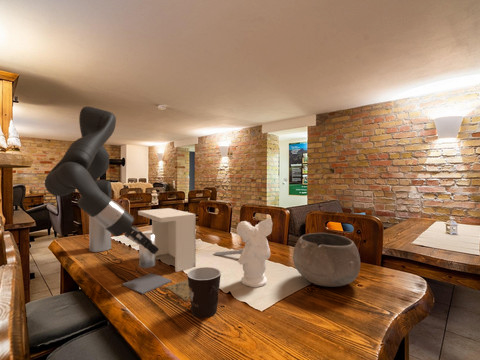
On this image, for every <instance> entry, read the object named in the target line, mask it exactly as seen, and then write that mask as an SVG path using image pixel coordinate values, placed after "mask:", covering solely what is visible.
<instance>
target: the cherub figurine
mask: <svg viewBox="0 0 480 360" xmlns="http://www.w3.org/2000/svg"><path fill="white" fill-rule="evenodd" d="M273 226H274V225H273V220H272V219H271V217H270V216H269V217H267V218H266V219H264V220H261V221H259V222H258V224H257V223H256V224H255V226H253V225H252V224H251V222H249V221H247V220H244V221H243V220H242V221H240V222H238V224H237V226H236V234H237V235H238V236H239V237H240V238H241V240H242V242H243V243H245V245H244V247H243V248H242V249H243V251H242V253H241V255H240V256H239V258H238V260H237V263H239V265H242V270H243V276H242V277H241V280H240V281H241V283H242V284H243V285H244V286H245V287H246V286H247V287H250V288H260V287H262V286H265V285H266V284H267V282H268V278H267V277H266V275H265V271H266V270H267V269H266V268H267V263H266V261H267V260H268V259H270V257H271V250H270V245H269V241H268V239H267V237H268V236H269V235H271V234H272V231H273Z"/></svg>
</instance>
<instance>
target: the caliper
mask: <svg viewBox="0 0 480 360" xmlns="http://www.w3.org/2000/svg"><path fill="white" fill-rule="evenodd" d="M243 249H244V248H240V249H237V250H235V249H233V250H224V251H223V250H222V251H215V252H214V253H212V255H214V256H229V255H230V256H231V255H240V256H241V253H242V251H243Z"/></svg>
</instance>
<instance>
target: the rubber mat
mask: <svg viewBox="0 0 480 360" xmlns="http://www.w3.org/2000/svg"><path fill="white" fill-rule="evenodd" d="M172 281H173V280H172V279H170V278H167V277H164V276H162V275H158V274H155V273H153V272H150V273H148V274H145V275H143V276H140V277H137V278H134V279H132V280H129V281H126V282H123V283H122V284H121V285H122V286H123V287H126V288H128V289H130V290H132V291H134V292H136V293H139V294H141V295H144V294H146V293H149V292H150V291H153V290H155V289H158V288H160V287H162V286H165V285H167V284H169V283H171V282H172Z"/></svg>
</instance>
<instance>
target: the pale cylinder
mask: <svg viewBox="0 0 480 360" xmlns="http://www.w3.org/2000/svg"><path fill="white" fill-rule="evenodd" d="M143 234H145V235H146V237H147V238H148V239H149V240H151V241H152V244H154V245H155V233H152V232H146V233H144V232H143ZM146 242H147V240H146V241H145V242H144V244H145V243H146ZM138 253H139V254H138V256H139V257H138V258H139V259H138V261H139V262H138V267H139V268H141V269H143V268H145V269H146V268H152V267H155V266H156V256H155V254H153V253H151V252H150V251H149V250H148V249H146V248H144V247H143V246H142V245H141V244H139V245H138Z"/></svg>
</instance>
